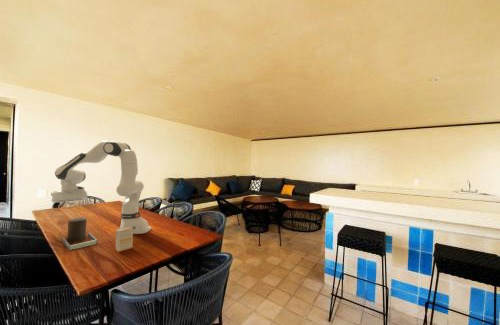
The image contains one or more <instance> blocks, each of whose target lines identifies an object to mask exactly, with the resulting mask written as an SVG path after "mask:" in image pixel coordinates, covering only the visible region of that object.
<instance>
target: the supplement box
mask: <svg viewBox="0 0 500 325" xmlns="http://www.w3.org/2000/svg"><path fill="white" fill-rule="evenodd" d="M133 236H134V234H133V228H132V227H130V226H129V227H125V228H120V227H119V228H117V229H115V251H116V252H118V253H120V252H123V251H126V250H130V249H133V243H134V242H133V240H134V239H133Z"/></svg>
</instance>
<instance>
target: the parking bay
mask: <svg viewBox="0 0 500 325" xmlns="http://www.w3.org/2000/svg"><path fill="white" fill-rule="evenodd" d="M87 237H88V238H89V239H90V241H89V240H88V241H84V242H79V243H74V244H72V245H71V244H70V243H69V241H67V238H65V237H64V236H63V237H62V239H61V241H62V243H63V244H64V246H65V247H66V249H67V250H68V251H72V249H73V250H76V249H81V248H85V247H88V246H93V245H97V244H98V239H97V238H96V237H95V236H93V234H92V233H91V232H89V231H88V232H87Z"/></svg>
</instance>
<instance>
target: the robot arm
mask: <svg viewBox="0 0 500 325" xmlns="http://www.w3.org/2000/svg"><path fill="white" fill-rule="evenodd" d="M108 156H113V157H118V158H119V160H120V169H121V170H120V171H121V176H120V180H119V184H118V185H117V187H116V194H118V196H119V197H124V200H123V202H122V203H121V204H122V205H121V214H120V215H121V216H120V220H121V222H120V226H119V229H120V228H125V227H129V226H130V227H132V228H133V235H138V234H145V233H148V232H149V231H150V230H152V227H151V226H150V225H149V223H148V221H147V220H146V219H145V218H143V217H142V216H141V214H142V212H139V204H140V203H139V202H140V198H141V195H142V191H143V190H144V188H145V187H144V186H145V185H144V183H143V182H142V181H140V180H136V178H137V175H138V174H139V170H138V159H137V154H136V152H135V151H134V150H132V149H131V146H130V145H129V144H128V143H125V142H124V143H123V142H120V141H108V140H101V141H100V142H98V143H97V144H95V145H94V146H93V147H92V148H91V149H90V150H87V151H85V152H81V153H79V154H78V155H76V156H74V157H73V158H72V159H70V160H69V161H67V162H66V163H65V164H63V165H61V166H59V167H57V168H56V170H55V172H54V176H55V177H56V179H58V180H60V185H61V190H53V191H51V192H50V195H51V196H50V197H51V203H63V202H64V203H66V204H67V205H68V207H72V206H75V203H76V201H79V202H80V201H86V200H88V192H87V191H86V190H85V187H84V186H78V185H79V184H81V183H82V182H84V181H85V180H86V178H87V177H86V176H87V175H86V172H85V171H84V170H80V169H76V167H77V166H78V165H80V164H85V163H91V164H92V163H93V164H97V163H98V164H99V163H101V162H103V161H104V160H105V159H107V157H108Z"/></svg>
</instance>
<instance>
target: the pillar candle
mask: <svg viewBox="0 0 500 325" xmlns="http://www.w3.org/2000/svg"><path fill="white" fill-rule="evenodd" d="M86 236H87V217H75V218H70V219H68V223H67V237H66V241H67V242H68V243H69V242H71V243H73V242H74V243H75V242H80V241H83V240H85V239H86V238H87V237H86Z"/></svg>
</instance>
